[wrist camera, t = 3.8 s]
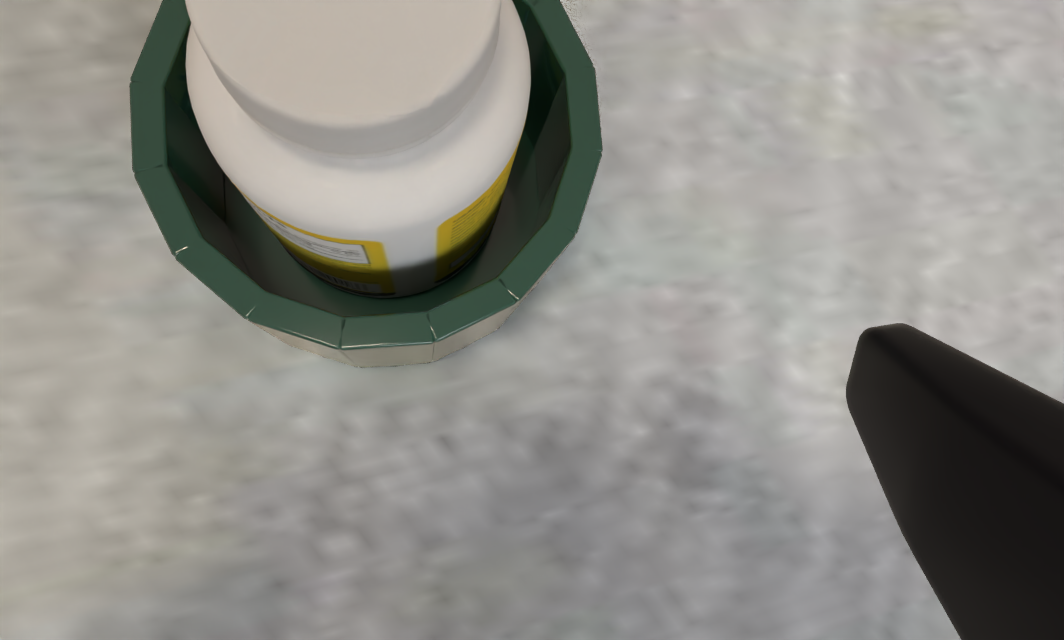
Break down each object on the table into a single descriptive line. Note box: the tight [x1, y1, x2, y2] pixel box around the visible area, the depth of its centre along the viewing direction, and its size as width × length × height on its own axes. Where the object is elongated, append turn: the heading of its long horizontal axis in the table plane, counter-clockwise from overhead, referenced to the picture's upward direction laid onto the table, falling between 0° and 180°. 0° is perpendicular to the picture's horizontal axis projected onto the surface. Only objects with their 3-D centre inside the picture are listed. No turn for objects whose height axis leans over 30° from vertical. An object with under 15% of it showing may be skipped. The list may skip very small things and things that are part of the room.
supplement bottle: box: [185, 0, 531, 298], centre depth 16 cm, size 5×5×10 cm
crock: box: [130, 0, 603, 368], centre depth 19 cm, size 8×8×5 cm
